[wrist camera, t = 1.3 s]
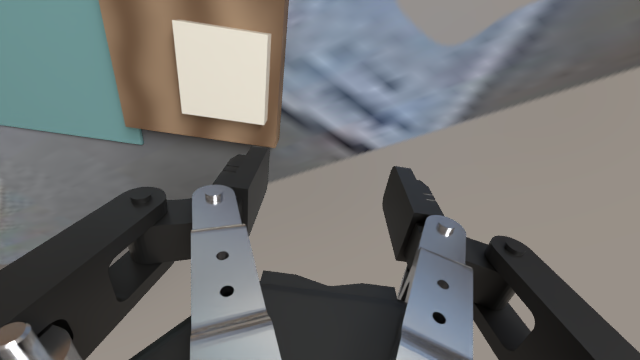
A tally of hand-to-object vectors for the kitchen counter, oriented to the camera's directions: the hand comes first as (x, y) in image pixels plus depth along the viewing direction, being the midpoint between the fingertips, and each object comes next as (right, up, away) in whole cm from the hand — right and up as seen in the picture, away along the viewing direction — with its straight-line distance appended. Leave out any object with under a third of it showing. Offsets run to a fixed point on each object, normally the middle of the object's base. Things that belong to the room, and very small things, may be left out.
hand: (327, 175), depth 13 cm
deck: (-12, +12, +16) cm, 23 cm away
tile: (-9, +10, +14) cm, 19 cm away
